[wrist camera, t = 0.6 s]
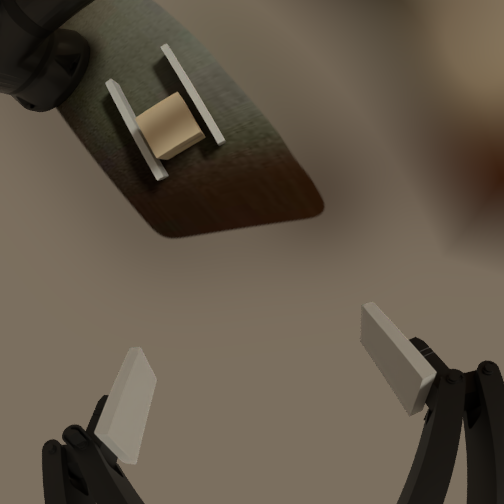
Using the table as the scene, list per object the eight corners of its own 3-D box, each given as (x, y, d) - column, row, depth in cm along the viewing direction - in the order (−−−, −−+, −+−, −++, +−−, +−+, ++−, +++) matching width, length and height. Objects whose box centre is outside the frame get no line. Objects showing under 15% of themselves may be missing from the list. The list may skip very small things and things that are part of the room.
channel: (113, 88, 30) (105, 82, 28) (171, 51, 30) (166, 43, 27) (162, 179, 35) (157, 180, 33) (225, 142, 35) (225, 140, 32)
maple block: (148, 125, 33) (134, 118, 27) (185, 103, 33) (177, 91, 27) (168, 160, 35) (156, 158, 29) (205, 137, 34) (200, 131, 29)
